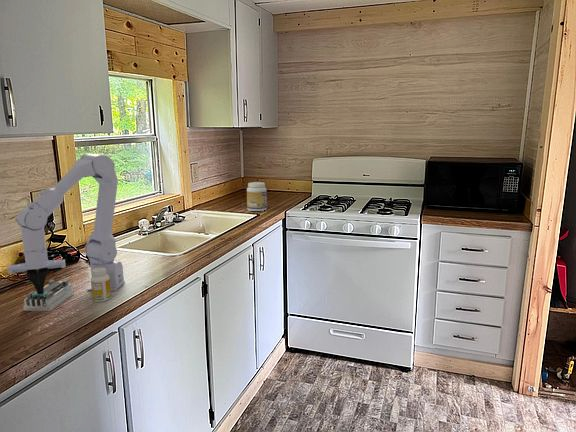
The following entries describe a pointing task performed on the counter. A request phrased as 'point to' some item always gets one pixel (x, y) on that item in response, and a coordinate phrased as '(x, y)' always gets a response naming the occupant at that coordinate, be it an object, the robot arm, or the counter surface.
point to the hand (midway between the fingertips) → (40, 293)
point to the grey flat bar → (48, 289)
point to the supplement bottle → (100, 285)
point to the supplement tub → (256, 196)
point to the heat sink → (48, 298)
